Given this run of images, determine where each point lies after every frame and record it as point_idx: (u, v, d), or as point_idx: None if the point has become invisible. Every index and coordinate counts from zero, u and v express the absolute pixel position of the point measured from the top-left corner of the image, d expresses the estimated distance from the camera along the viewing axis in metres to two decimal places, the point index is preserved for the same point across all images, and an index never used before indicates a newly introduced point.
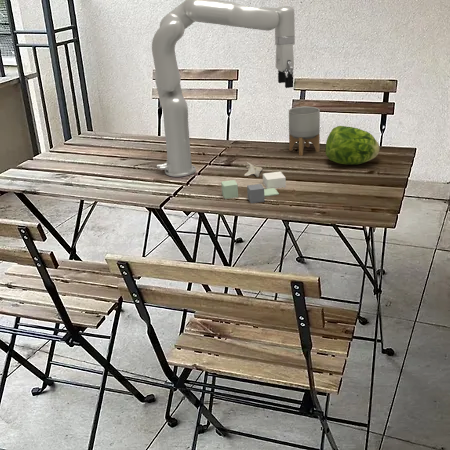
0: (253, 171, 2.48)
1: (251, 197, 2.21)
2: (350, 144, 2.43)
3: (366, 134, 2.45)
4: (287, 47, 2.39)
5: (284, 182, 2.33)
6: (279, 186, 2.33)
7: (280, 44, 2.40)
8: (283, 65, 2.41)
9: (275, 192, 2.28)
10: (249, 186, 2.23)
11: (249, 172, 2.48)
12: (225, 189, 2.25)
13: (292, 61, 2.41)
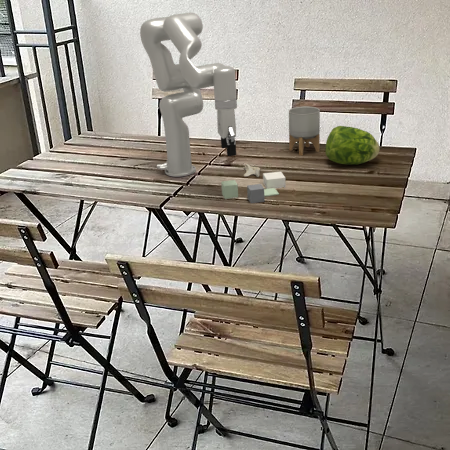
0: (252, 171, 2.48)
1: (251, 197, 2.21)
2: (350, 144, 2.43)
3: (366, 134, 2.45)
4: (228, 112, 2.12)
5: (284, 182, 2.33)
6: (278, 186, 2.33)
7: (220, 108, 2.13)
8: (224, 132, 2.14)
9: (275, 192, 2.28)
10: (249, 186, 2.23)
11: (248, 172, 2.48)
12: (225, 189, 2.25)
13: (234, 127, 2.14)
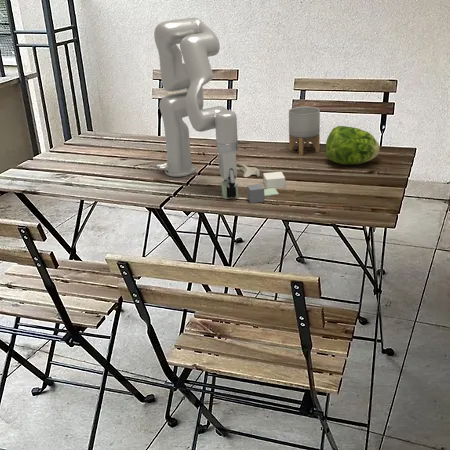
0: (251, 172, 2.48)
1: (251, 197, 2.21)
2: (350, 144, 2.43)
3: (366, 134, 2.45)
4: (229, 155, 2.18)
5: (283, 182, 2.33)
6: (278, 186, 2.33)
7: (221, 151, 2.19)
8: (225, 174, 2.20)
9: (275, 192, 2.28)
10: (249, 186, 2.23)
11: (247, 173, 2.48)
12: (225, 189, 2.25)
13: (235, 169, 2.20)
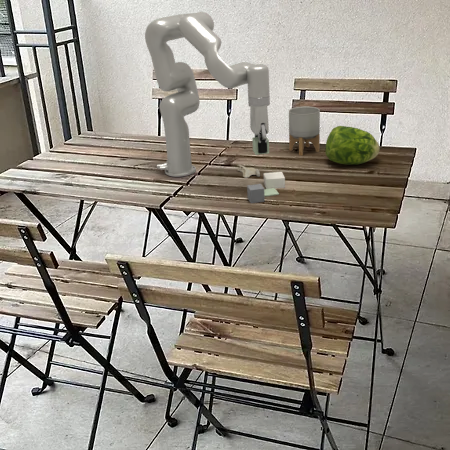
0: (250, 172, 2.48)
1: (251, 197, 2.21)
2: (350, 144, 2.43)
3: (366, 134, 2.45)
4: (261, 109, 2.17)
5: (283, 182, 2.32)
6: (278, 186, 2.33)
7: (253, 105, 2.18)
8: (256, 128, 2.19)
9: (275, 192, 2.28)
10: (249, 186, 2.23)
11: (247, 173, 2.47)
12: (256, 144, 2.24)
13: (266, 124, 2.19)
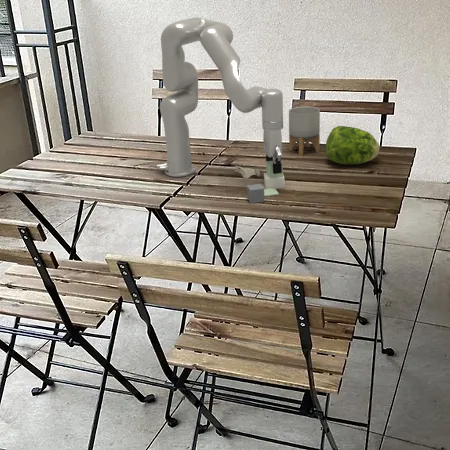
0: (250, 172, 2.47)
1: (251, 197, 2.21)
2: (350, 144, 2.43)
3: (366, 134, 2.45)
4: (275, 132, 2.23)
5: (283, 183, 2.32)
6: (277, 187, 2.33)
7: (267, 129, 2.24)
8: (271, 151, 2.25)
9: (275, 192, 2.28)
10: (249, 186, 2.23)
11: (247, 174, 2.47)
12: (270, 168, 2.31)
13: (280, 147, 2.25)
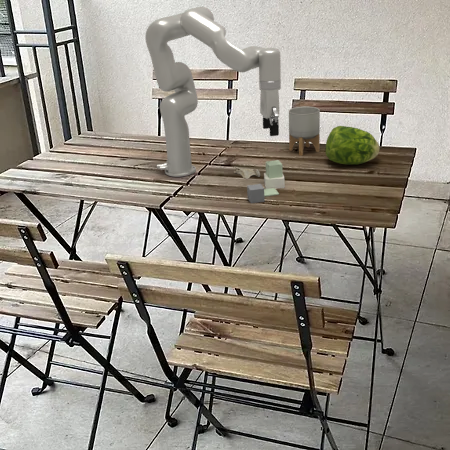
0: (249, 173, 2.47)
1: (251, 197, 2.21)
2: (350, 144, 2.43)
3: (366, 134, 2.45)
4: (272, 93, 2.18)
5: (283, 183, 2.32)
6: (277, 187, 2.33)
7: (264, 89, 2.19)
8: (268, 112, 2.20)
9: (275, 192, 2.28)
10: (249, 186, 2.23)
11: (247, 175, 2.46)
12: (270, 169, 2.31)
13: (277, 108, 2.20)
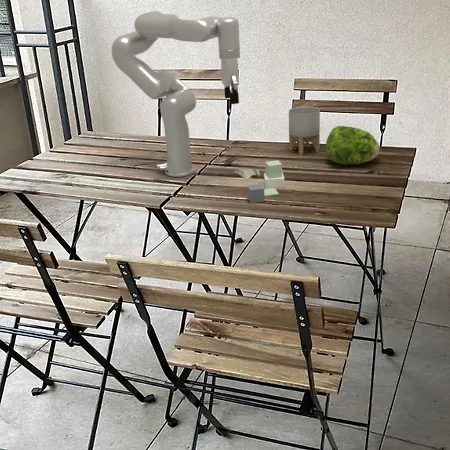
0: (249, 173, 2.47)
1: (251, 197, 2.21)
2: (350, 144, 2.43)
3: (366, 134, 2.45)
4: (231, 61, 2.23)
5: (283, 183, 2.32)
6: (277, 187, 2.33)
7: (224, 58, 2.24)
8: (227, 80, 2.25)
9: (275, 192, 2.28)
10: (249, 186, 2.23)
11: (247, 175, 2.46)
12: (270, 169, 2.30)
13: (237, 76, 2.25)
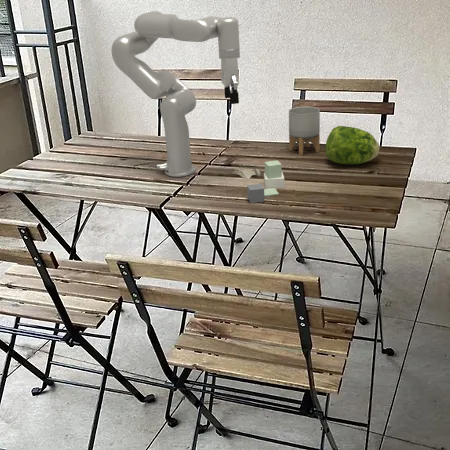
0: (249, 173, 2.47)
1: (251, 197, 2.21)
2: (350, 144, 2.43)
3: (366, 134, 2.45)
4: (231, 61, 2.23)
5: (283, 183, 2.32)
6: (277, 187, 2.33)
7: (224, 57, 2.24)
8: (227, 80, 2.25)
9: (275, 192, 2.28)
10: (249, 186, 2.23)
11: (247, 175, 2.46)
12: (269, 169, 2.30)
13: (237, 76, 2.25)
